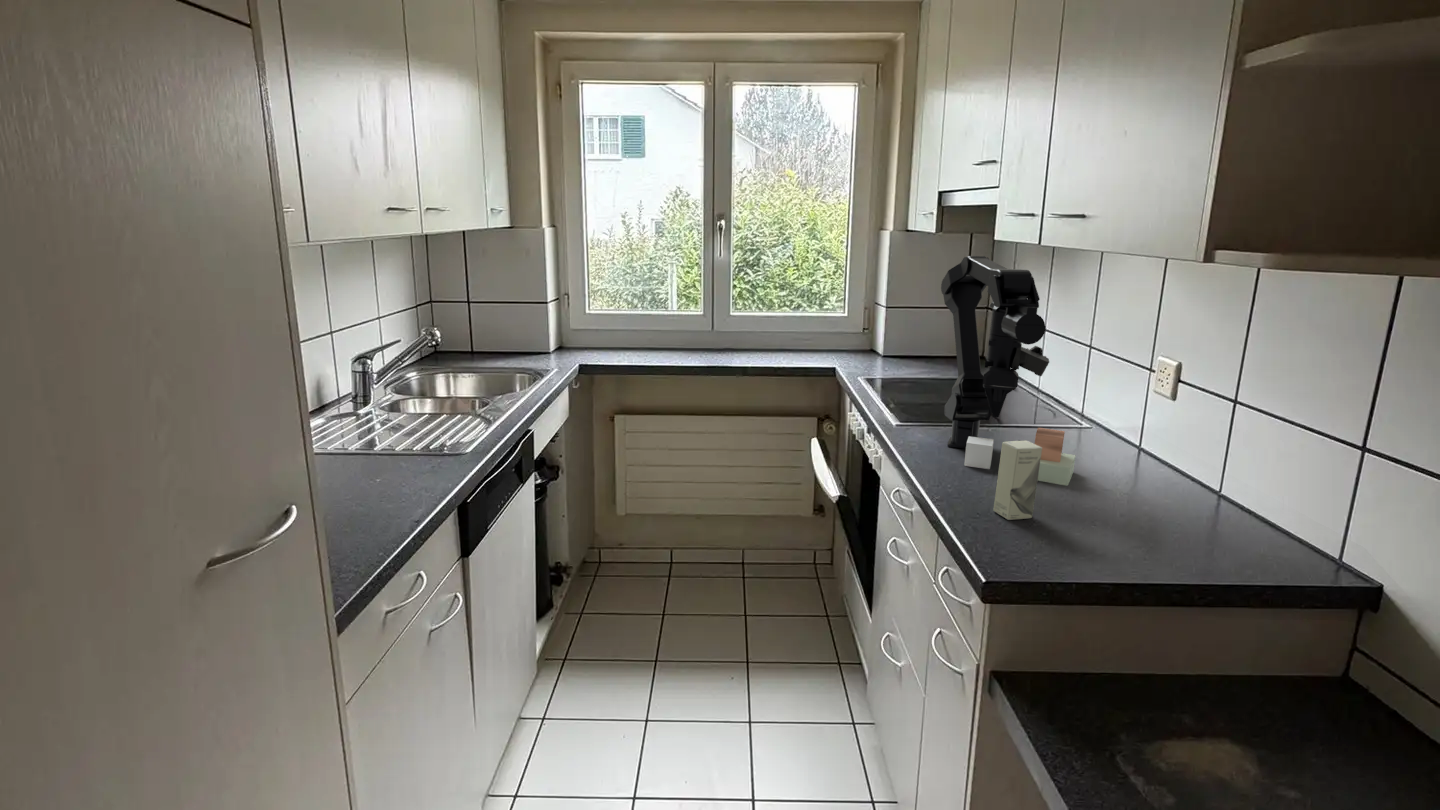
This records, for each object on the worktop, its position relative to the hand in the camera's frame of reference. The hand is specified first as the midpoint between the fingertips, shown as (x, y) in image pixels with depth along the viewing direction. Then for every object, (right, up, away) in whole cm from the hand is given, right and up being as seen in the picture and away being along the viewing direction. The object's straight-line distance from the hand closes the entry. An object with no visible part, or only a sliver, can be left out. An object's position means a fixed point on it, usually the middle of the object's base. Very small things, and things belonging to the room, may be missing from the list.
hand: (995, 411), depth 155 cm
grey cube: (-2, -11, +5) cm, 12 cm away
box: (-5, -18, -21) cm, 28 cm away
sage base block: (+10, -13, -1) cm, 16 cm away
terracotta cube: (+10, -9, -2) cm, 13 cm away
